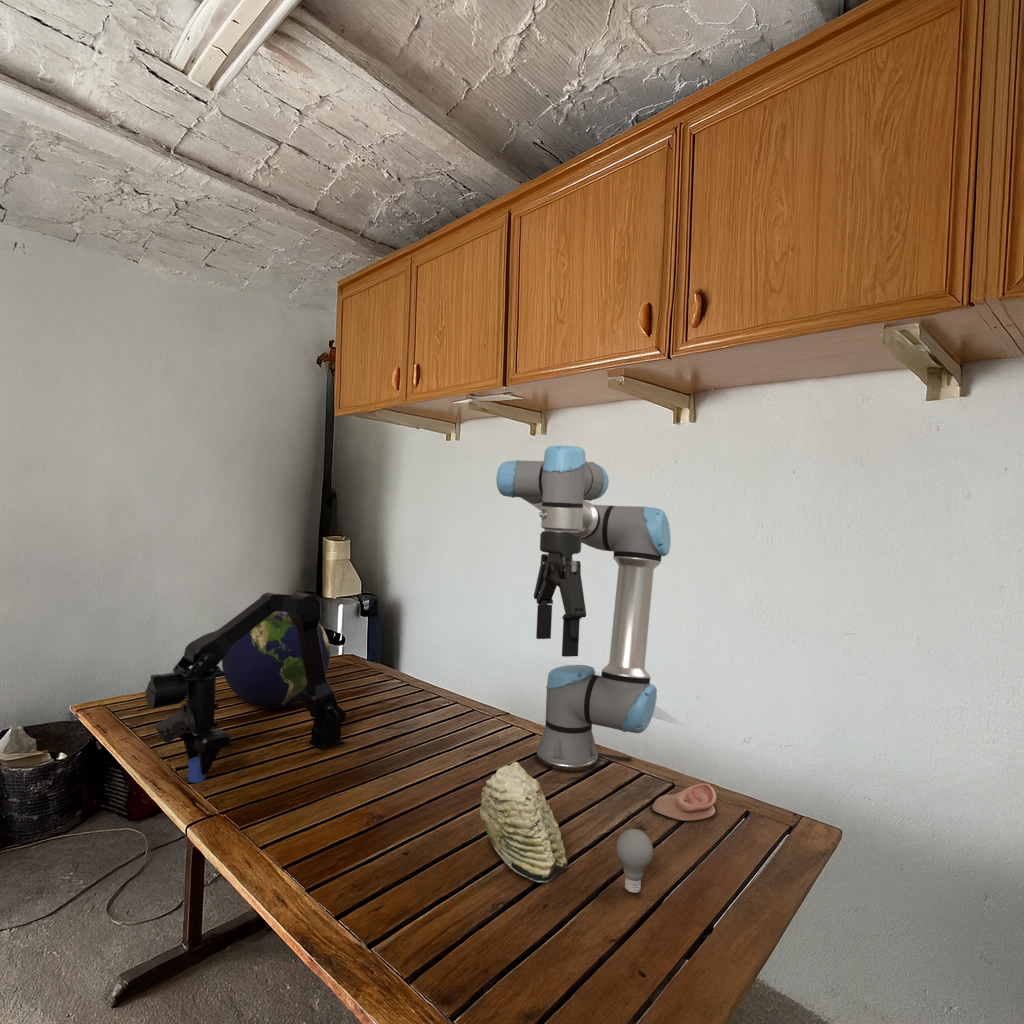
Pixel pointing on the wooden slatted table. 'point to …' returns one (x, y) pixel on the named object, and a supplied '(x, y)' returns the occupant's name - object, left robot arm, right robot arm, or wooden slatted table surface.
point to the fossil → (522, 824)
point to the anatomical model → (687, 803)
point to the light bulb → (634, 857)
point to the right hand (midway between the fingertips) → (555, 647)
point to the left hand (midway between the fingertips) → (198, 769)
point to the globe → (270, 663)
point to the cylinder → (195, 771)
